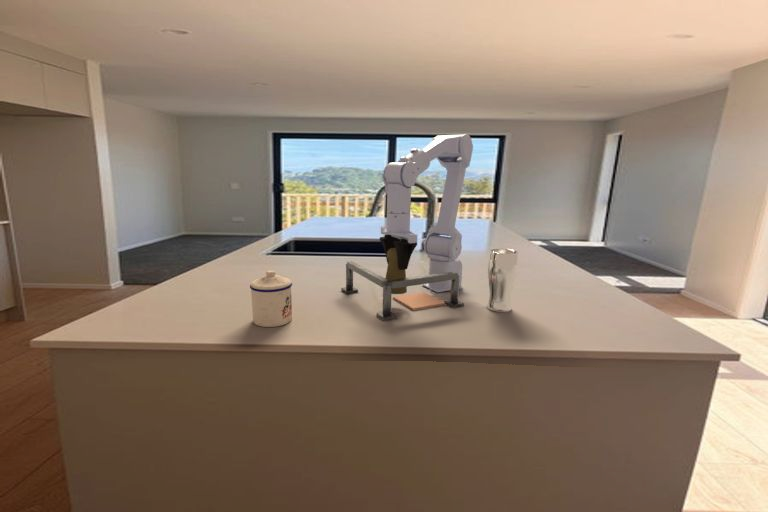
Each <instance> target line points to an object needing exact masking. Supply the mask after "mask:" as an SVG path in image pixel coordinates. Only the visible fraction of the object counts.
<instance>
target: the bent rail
mask: <svg viewBox="0 0 768 512" xmlns="http://www.w3.org/2000/svg"><path fill="white" fill-rule="evenodd" d="M354 272H355V274H356V273H357V274H358V275H360V276H362V277H363V278H365V279H367V280H368V281H370V282H372V283H374V284H375V285H377V286H379V287H381V288H382V311H378V312H376V317H377V318H379V319H380V320H382V321H383V322H386V320H387V321H392V320H397V319H398V315H397V314H396V313H394V312H393V311H392V295H393V294H392V289H393V288H400V287H413V286H420V285H422V284H427V283H434V282H441V281H448V280H451V290H450V296H449V297H450V299H448V300H443V302H445V305H444V306H448V307H450V308H452V309H455V308H460V307H464V306H465V305H464V304H465V303H464V302H463V301H461V300H459V292H460V289H459V277H460V275H458V273H456V272H447V273H440V274H432V275H429V274H427V275H419V276H409V277H406V278H402V279H395V280H387V279H385V278H386V277H384V276H381V275H380V274H378V273H376V272H374V271H371V270H370V269H368V268H366V267H364V266H362V265H361V264H358V263H356V262H355V261H352V260H351V261H346V264H345V287H341V289H340V290H341V292H343V293H344V294H345V295H349V294H356V293H359V289H358V288H356V287H355V286H354Z"/></svg>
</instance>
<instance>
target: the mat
mask: <svg viewBox="0 0 768 512" xmlns="http://www.w3.org/2000/svg"><path fill="white" fill-rule="evenodd" d="M392 300H394V301H396V302H397V303H399V304H401V305H403V306H405V307H406V308H408V310H409V309H410V310H411V311H413V312H414V311H419V310H420V311H421V310H423V309H424V310H425V309H430V308H436V307H440V306H446V305H445V302H444V300H440V298H436V297H435V296H433V295H431V294H429V293H426V292H425V291H420V292H414V293H409V294H400V295H396V296H393V297H392Z"/></svg>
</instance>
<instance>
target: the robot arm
mask: <svg viewBox="0 0 768 512" xmlns="http://www.w3.org/2000/svg"><path fill="white" fill-rule="evenodd" d="M473 149H474V145H473V140H472V138H471V136H470V135H469V134H468V133H464V134H446V135H442V134H438V135H436V136H435V137H433V138H432V141H431V142H430V143H429V144H427V146H426V147H424V148H423V149H420V148H412V149H410V153H407V155H405V156H401V157H400V158H399V159H398V161H397V162H395V161H393V162H388V164H387V165H386V166H385V167H384V169H383V173H382V174H381V175H382V180H383V181H382V182H383V183H384V186H385V187H384V190H385V193H386V195H387V196H386V226H380V234H381V235H383V236H380V237H379V241H380V243H381V245H382V247H383V250H384V254H385V260H386V263H387V264H388V262H389V261H388V259H387V251H388V250H389V249H390V248H396V252H397V259H398V268H399V270H404V269H405V270H408V267H409V264H410V261H411V257H412V254H413V253H414V250H415V249H416V247H417V246H418V234H416V233H414V232H413V231H412V230H410V229H411V203H412V202H411V201H412V200H411V198H412V197H411V196H412V187H413V186H415V184H416V182H417V178H418V177H419V176H420V175H421V174H423V173H424V172H425V171H426V170H427V169H429V168H430V165H431V162H433V160H435V159H437V161H438V163H439V164H440V166H441V167H443V168H445V169H446V175H445V176H446V177H445V180H444V181H445V182H444V188H443V191H442V197H441V203H440V207H439V213H438V217H437V223H436V224H434V226H432V227H430V228H429V229H428V232H427V236H426V238H425V240H424V242H423V249H424V253H425V254H426V255H427V258H428V259H429V262H428V265H429V267H428V275H432V274H440V273H447V272H456V273H458V275H460V277H459V290H461V289H464V287H463V286H462V278H463V264H462V261H461V260H460V258H459V256H460V255H461V252H462V238H463V235H462V233H461V232H460V231H459V230H458V229H457V227H455V226H456V222H457V217H458V212H459V207H460V201H461V195H462V191H463V190H462V189H463V185H464V182H465V177H466V171H467V168H469V167H470V164H471V160H472V155H473ZM421 285H422V286H423V287H425V288H427V289H429V290H432V291H434V292H436V293H443V292H448V291H449V292H450V291H451V280H448V281H441V282H434V283H427V284H421Z"/></svg>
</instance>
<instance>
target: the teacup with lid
mask: <svg viewBox="0 0 768 512" xmlns="http://www.w3.org/2000/svg"><path fill="white" fill-rule="evenodd" d="M292 286H293V283H292V280H291V279H290V278H287V277H285V276H284V277H283V276H282V275H279V274H276V271H275V270H271V269H270V270H267V271H266V272H265V275H263V276H261V277H260V278H257V279H254V280H252V281H251V282H250V285H249V288H250V289H251V307H252V308H251V309H252V322H253V324H254V325H256V326H258V327H263V328H274V327H275V328H276V327H281V326H284V325H286V324H289V323H290V322H291V321H292V320H293V308H292V303H293V302H292V300H293V299H292Z"/></svg>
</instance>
